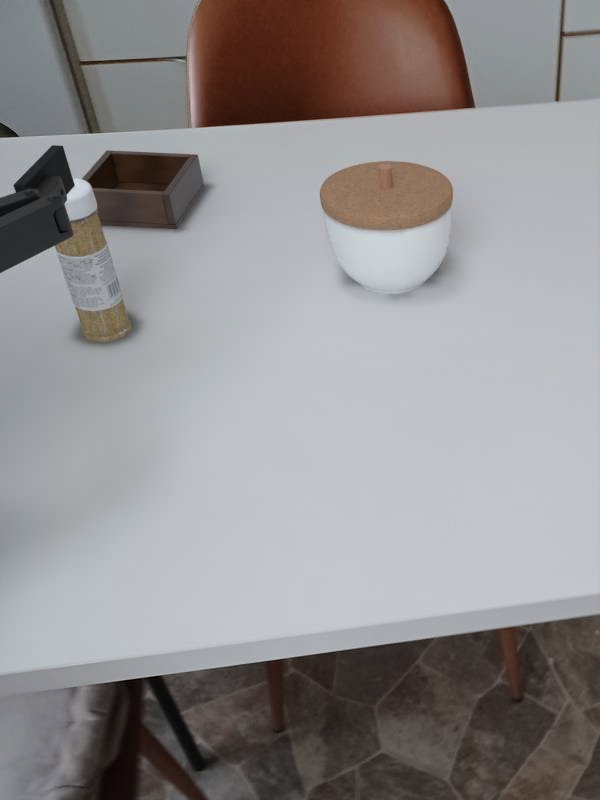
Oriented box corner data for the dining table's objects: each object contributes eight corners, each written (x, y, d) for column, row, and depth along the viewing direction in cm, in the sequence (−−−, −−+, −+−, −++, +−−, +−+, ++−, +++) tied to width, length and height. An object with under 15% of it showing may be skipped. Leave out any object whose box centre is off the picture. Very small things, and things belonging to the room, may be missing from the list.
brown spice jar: (104, 315, 92) (59, 171, 82) (143, 326, 91) (102, 181, 81) (72, 338, 90) (22, 192, 80) (112, 349, 88) (66, 202, 78)
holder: (82, 227, 105) (71, 190, 102) (116, 185, 112) (106, 150, 109) (177, 232, 104) (169, 194, 101) (205, 190, 111) (198, 154, 108)
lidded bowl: (309, 298, 95) (294, 184, 87) (357, 242, 103) (348, 132, 95) (430, 319, 92) (426, 204, 84) (469, 259, 100) (469, 149, 92)
